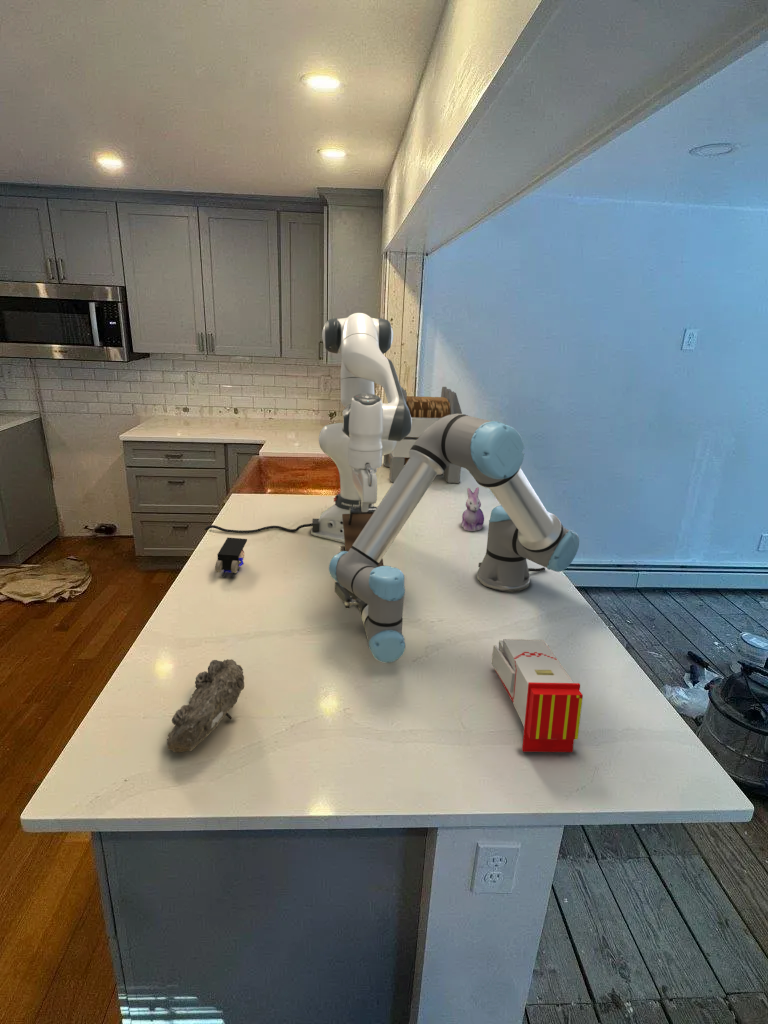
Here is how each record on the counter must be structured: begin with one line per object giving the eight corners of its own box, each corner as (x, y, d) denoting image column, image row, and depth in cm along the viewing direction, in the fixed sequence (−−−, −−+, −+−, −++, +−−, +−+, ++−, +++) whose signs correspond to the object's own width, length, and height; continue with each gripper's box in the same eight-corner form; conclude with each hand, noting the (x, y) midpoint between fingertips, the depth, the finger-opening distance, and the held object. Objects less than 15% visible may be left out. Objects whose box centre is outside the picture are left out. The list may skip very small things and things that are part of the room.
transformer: (382, 463, 289) (386, 382, 275) (445, 464, 293) (451, 384, 279) (390, 482, 257) (394, 392, 243) (460, 483, 261) (468, 394, 247)
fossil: (192, 660, 117) (244, 628, 112) (224, 691, 120) (276, 661, 115) (142, 746, 98) (202, 712, 93) (182, 779, 101) (242, 748, 96)
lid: (342, 516, 159) (344, 498, 152) (375, 515, 161) (380, 497, 154) (347, 569, 150) (350, 553, 143) (383, 568, 151) (387, 552, 144)
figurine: (470, 533, 202) (474, 493, 197) (453, 524, 211) (457, 485, 206) (491, 530, 207) (495, 491, 202) (474, 520, 215) (478, 483, 210)
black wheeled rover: (238, 584, 162) (249, 557, 175) (236, 562, 158) (247, 536, 172) (215, 584, 161) (227, 556, 175) (212, 561, 158) (225, 535, 171)
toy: (540, 622, 128) (592, 691, 98) (535, 677, 130) (584, 759, 101) (487, 621, 127) (523, 690, 98) (483, 676, 130) (516, 758, 101)
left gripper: (384, 469, 137) (381, 522, 142) (371, 449, 156) (369, 496, 161) (358, 469, 136) (356, 523, 141) (348, 449, 155) (347, 497, 160)
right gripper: (329, 630, 133) (322, 586, 153) (421, 625, 137) (402, 582, 158) (329, 602, 130) (322, 561, 151) (423, 597, 134) (404, 558, 155)
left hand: (363, 508), depth 151 cm, fingers closed
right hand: (363, 572), depth 154 cm, fingers closed on chest, 10 cm apart
